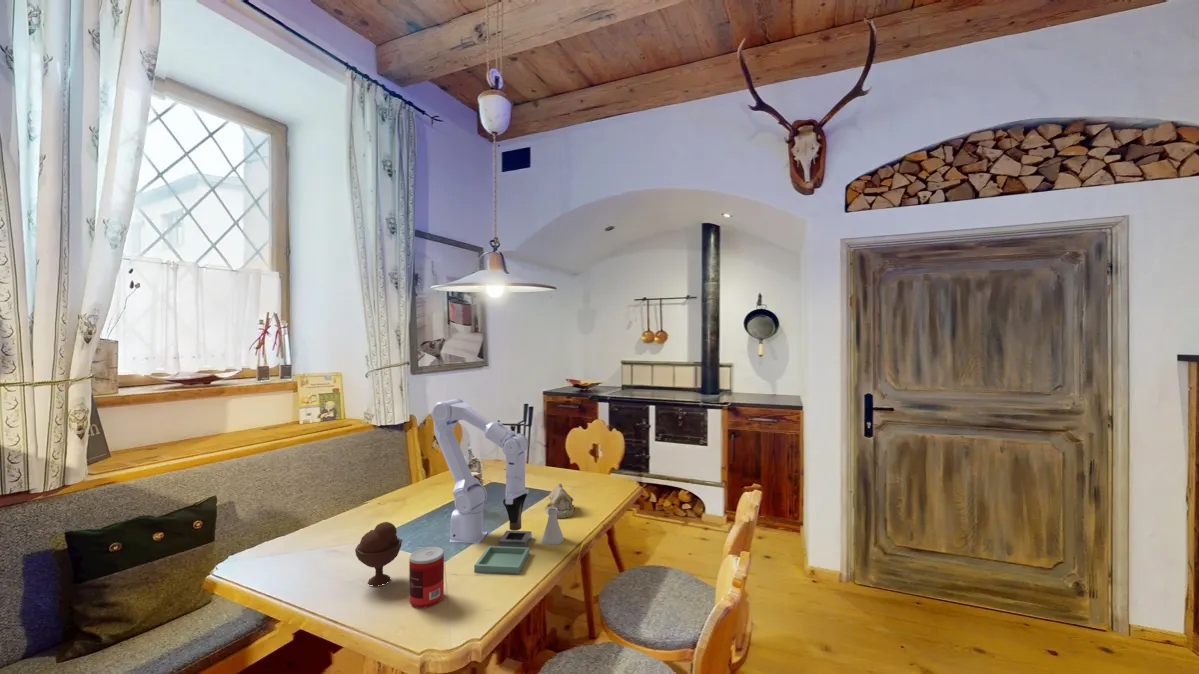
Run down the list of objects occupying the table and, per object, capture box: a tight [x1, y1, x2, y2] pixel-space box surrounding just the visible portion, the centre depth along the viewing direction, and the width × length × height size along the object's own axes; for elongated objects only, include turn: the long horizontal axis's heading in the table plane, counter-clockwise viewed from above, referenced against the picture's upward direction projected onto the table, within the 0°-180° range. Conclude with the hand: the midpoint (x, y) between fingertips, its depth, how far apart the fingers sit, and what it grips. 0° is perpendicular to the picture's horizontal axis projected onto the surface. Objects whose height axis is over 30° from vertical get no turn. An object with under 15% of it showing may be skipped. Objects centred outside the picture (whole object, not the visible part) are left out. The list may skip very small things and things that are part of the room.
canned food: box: [408, 546, 445, 609], centre depth 114 cm, size 8×8×11 cm
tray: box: [473, 545, 530, 575], centre depth 132 cm, size 12×12×2 cm
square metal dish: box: [498, 530, 533, 548], centre depth 145 cm, size 8×8×2 cm
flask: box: [541, 508, 565, 546], centre depth 147 cm, size 7×7×10 cm
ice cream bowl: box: [354, 521, 403, 586], centre depth 123 cm, size 11×11×15 cm
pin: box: [509, 506, 522, 531], centre depth 145 cm, size 4×4×8 cm
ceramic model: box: [544, 483, 576, 519], centre depth 173 cm, size 14×11×10 cm
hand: (515, 520), depth 145 cm, fingers closed on pin, 3 cm apart
